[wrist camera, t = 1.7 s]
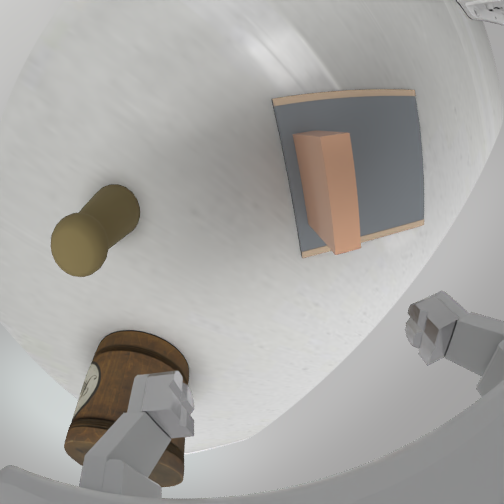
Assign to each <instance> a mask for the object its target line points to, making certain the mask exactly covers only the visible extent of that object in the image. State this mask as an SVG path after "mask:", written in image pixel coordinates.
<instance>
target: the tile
mask: <svg viewBox="0 0 504 504" xmlns="http://www.w3.org/2000/svg"><path fill="white" fill-rule="evenodd" d="M293 139H294V144H295V149H296V155H297V160H298V165H299V171H300V176H301V182H302V188H303V194H304V200H305V206H306V213H307V219H308V224H309V225H310V226H311V228H312V229H313V230H314V231H315V232H316V233H317V234H318V235H319V237H320V238H321V239H322V240H323V241H324V242H325V243H326V245H327V246H328V247H329V248H330V249H331V250H332V252H333V253H334V254H335V255H338V254H341V253H345V252H349V251H352V250H356V249H359V248H361V239H360V221H359V208H358V196H357V186H356V177H355V168H354V160H353V153H352V146H351V139H350V133H347V132H334V131H317V130H315V131H308V132H302V133H296V134H293Z"/></svg>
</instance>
